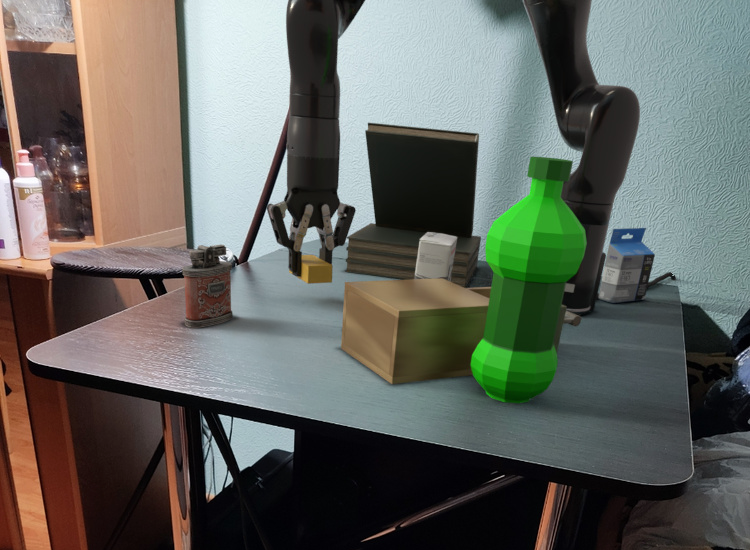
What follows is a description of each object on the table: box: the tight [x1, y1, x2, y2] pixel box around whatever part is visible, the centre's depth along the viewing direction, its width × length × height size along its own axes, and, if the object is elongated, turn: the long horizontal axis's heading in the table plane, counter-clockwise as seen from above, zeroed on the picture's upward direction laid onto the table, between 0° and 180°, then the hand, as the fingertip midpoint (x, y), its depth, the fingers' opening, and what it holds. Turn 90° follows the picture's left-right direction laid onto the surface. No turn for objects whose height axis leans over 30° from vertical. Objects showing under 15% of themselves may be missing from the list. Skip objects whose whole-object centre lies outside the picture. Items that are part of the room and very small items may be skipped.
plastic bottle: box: [471, 156, 587, 405], centre depth 78 cm, size 10×10×25 cm
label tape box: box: [597, 227, 656, 304], centre depth 130 cm, size 9×4×12 cm, turn 123°
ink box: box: [414, 232, 457, 281], centre depth 108 cm, size 9×5×12 cm, turn 168°
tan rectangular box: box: [340, 278, 489, 385], centre depth 90 cm, size 15×14×9 cm
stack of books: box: [344, 122, 482, 288], centre depth 135 cm, size 23×20×25 cm
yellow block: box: [288, 254, 334, 285], centre depth 111 cm, size 4×8×3 cm, turn 28°
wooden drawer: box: [466, 286, 582, 355], centre depth 96 cm, size 19×12×7 cm, turn 118°
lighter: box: [182, 244, 233, 329], centre depth 98 cm, size 8×3×10 cm, turn 148°
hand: (310, 274), depth 112 cm, fingers closed on yellow block, 4 cm apart
